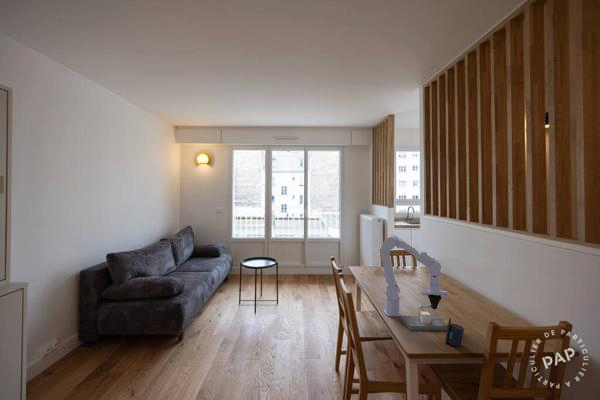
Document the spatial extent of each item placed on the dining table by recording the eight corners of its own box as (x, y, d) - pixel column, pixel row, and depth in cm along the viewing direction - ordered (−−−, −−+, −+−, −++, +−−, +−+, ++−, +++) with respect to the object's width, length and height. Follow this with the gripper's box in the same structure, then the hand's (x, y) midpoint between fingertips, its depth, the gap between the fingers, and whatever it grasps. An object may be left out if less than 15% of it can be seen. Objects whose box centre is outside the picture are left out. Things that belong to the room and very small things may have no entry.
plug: (419, 323, 158) (419, 311, 158) (427, 323, 158) (427, 311, 158) (422, 327, 154) (423, 314, 154) (430, 327, 154) (430, 314, 154)
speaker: (441, 342, 138) (444, 320, 137) (445, 338, 142) (448, 317, 141) (458, 350, 133) (462, 327, 132) (463, 346, 137) (466, 323, 136)
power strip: (400, 319, 163) (400, 314, 163) (440, 319, 164) (440, 314, 164) (410, 330, 150) (410, 324, 150) (453, 330, 151) (453, 325, 151)
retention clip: (419, 317, 161) (419, 306, 161) (417, 315, 163) (417, 305, 163) (439, 316, 163) (439, 305, 163) (436, 314, 165) (436, 304, 165)
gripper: (424, 285, 157) (423, 311, 157) (452, 285, 157) (451, 311, 157) (418, 281, 164) (418, 306, 164) (445, 281, 164) (444, 306, 164)
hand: (434, 308), depth 161 cm, fingers closed
